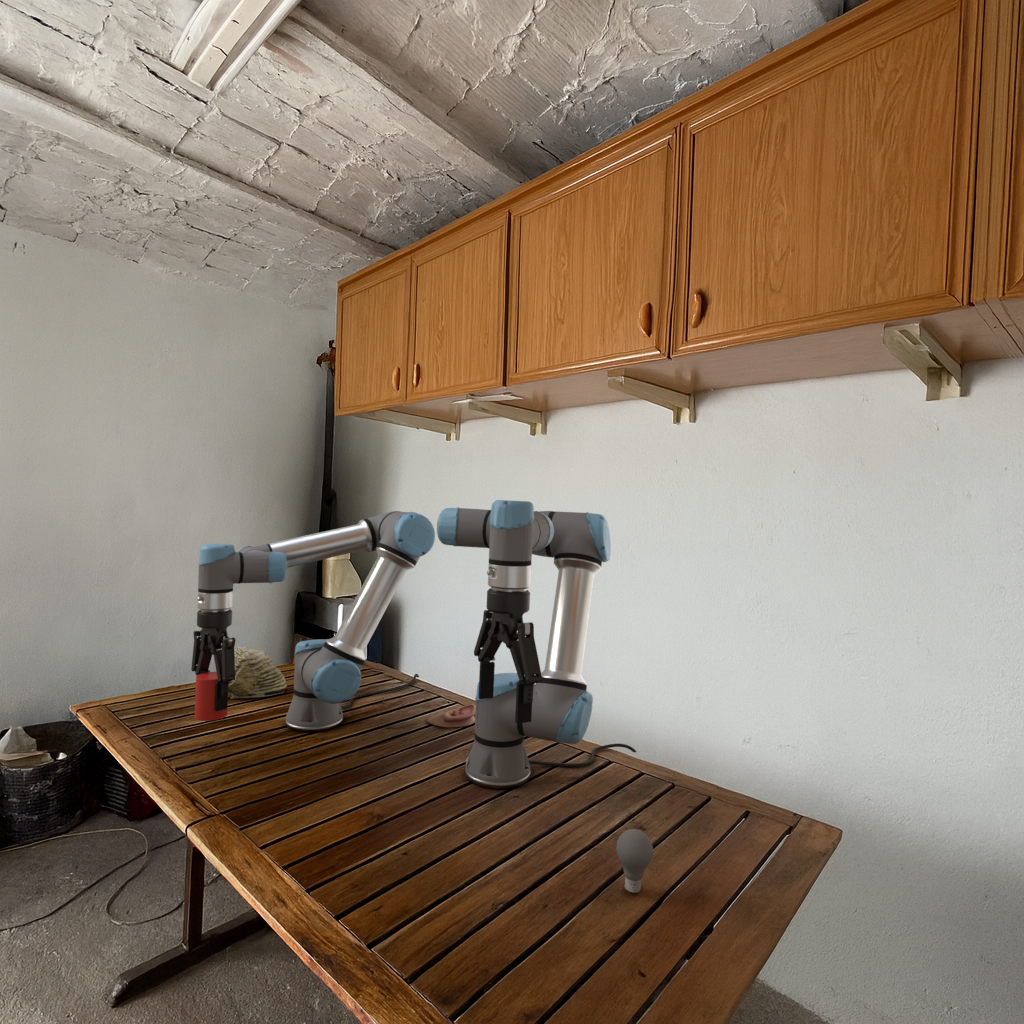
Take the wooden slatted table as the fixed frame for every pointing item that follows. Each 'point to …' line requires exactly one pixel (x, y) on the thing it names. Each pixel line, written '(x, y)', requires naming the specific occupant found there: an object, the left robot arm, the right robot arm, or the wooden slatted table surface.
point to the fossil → (255, 675)
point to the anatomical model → (455, 717)
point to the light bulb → (634, 857)
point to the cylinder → (207, 698)
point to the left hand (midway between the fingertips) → (211, 705)
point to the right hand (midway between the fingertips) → (503, 709)
